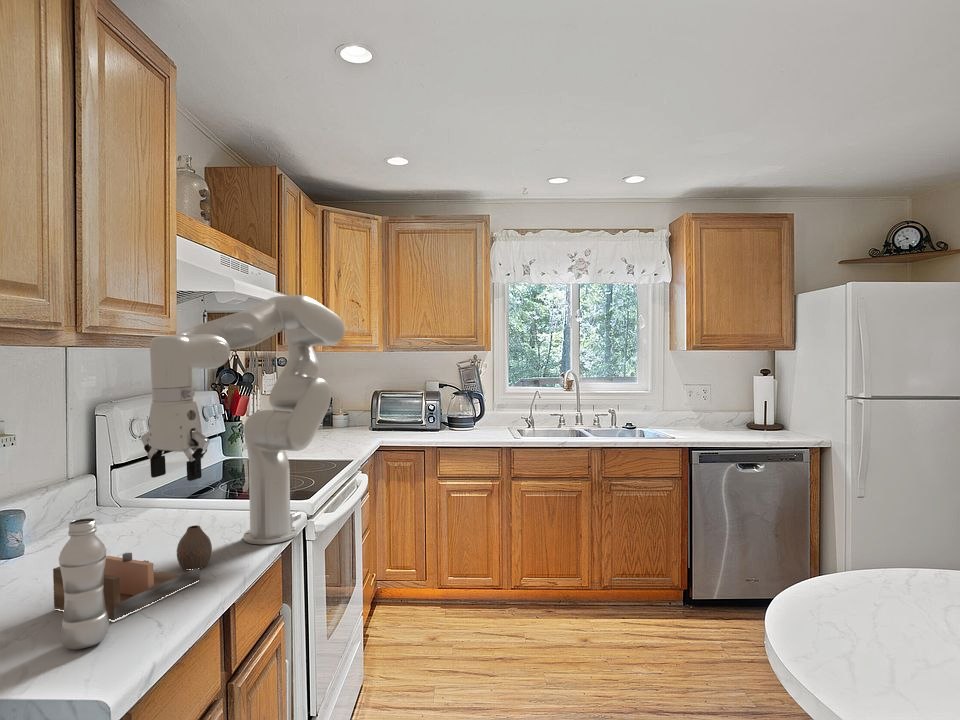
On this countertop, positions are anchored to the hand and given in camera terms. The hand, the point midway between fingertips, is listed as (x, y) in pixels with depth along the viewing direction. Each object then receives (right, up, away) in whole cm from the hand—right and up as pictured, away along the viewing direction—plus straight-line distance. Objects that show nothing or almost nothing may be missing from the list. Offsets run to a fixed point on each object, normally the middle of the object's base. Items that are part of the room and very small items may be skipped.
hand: (176, 477), depth 125 cm
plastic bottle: (0, -22, -28) cm, 36 cm away
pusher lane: (-4, -21, -9) cm, 23 cm away
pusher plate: (-4, -21, -9) cm, 23 cm away
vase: (+1, -21, +5) cm, 21 cm away
